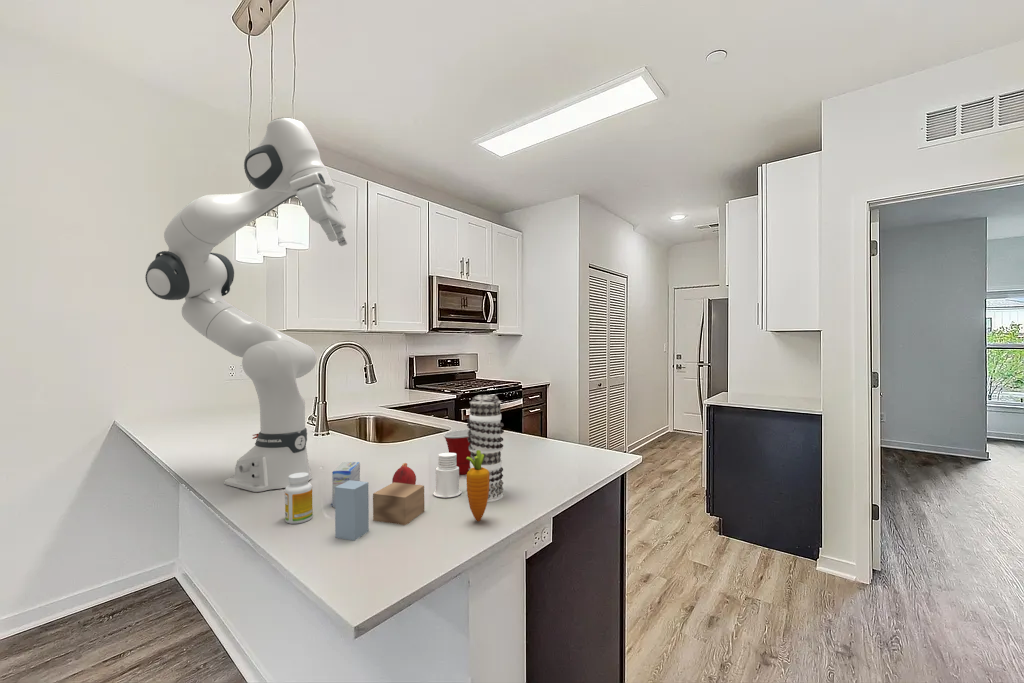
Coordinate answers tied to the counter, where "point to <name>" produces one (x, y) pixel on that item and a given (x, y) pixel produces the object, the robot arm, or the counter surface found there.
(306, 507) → the supplement bottle
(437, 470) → the downlight
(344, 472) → the medicine box
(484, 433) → the decorative candle
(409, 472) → the red round fruit
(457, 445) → the plastic cup
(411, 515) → the walnut block
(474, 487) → the carrot
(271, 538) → the counter surface
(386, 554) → the counter surface
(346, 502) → the slate pillar
